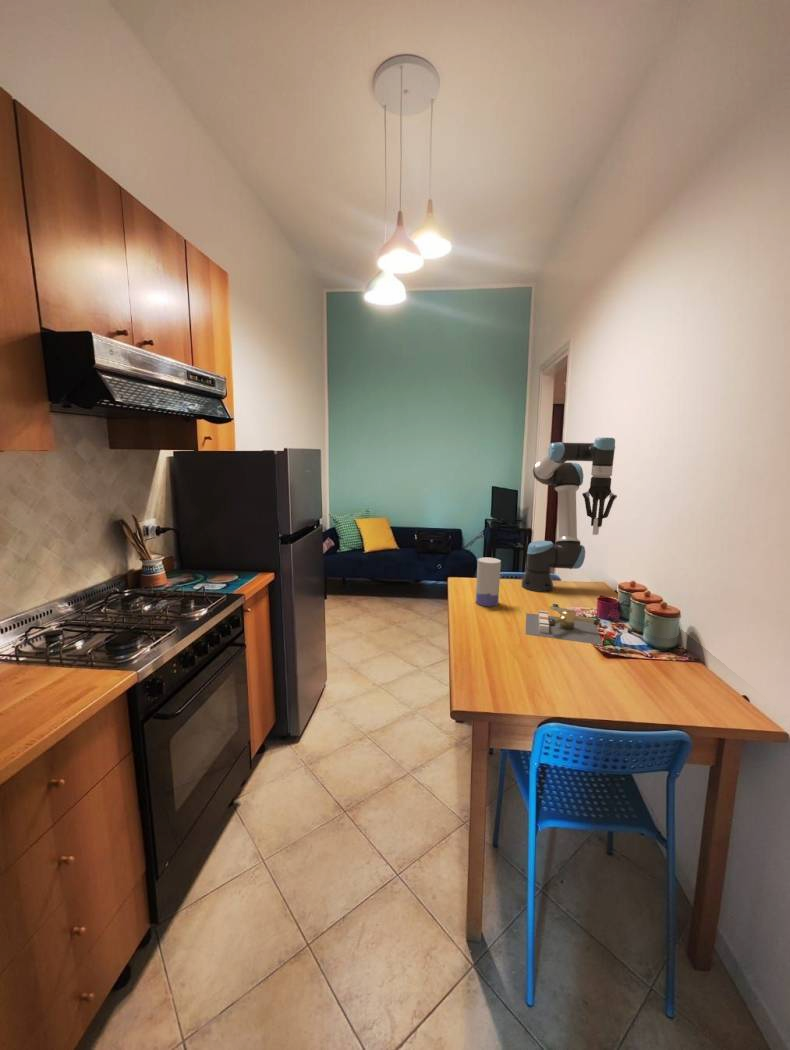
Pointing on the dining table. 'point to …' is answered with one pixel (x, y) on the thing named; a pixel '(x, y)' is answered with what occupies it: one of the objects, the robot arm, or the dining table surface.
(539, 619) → the stand
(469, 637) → the dining table surface
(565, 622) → the gold quadcopter drone
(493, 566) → the container
